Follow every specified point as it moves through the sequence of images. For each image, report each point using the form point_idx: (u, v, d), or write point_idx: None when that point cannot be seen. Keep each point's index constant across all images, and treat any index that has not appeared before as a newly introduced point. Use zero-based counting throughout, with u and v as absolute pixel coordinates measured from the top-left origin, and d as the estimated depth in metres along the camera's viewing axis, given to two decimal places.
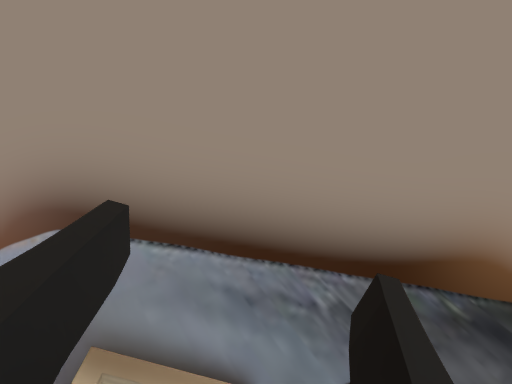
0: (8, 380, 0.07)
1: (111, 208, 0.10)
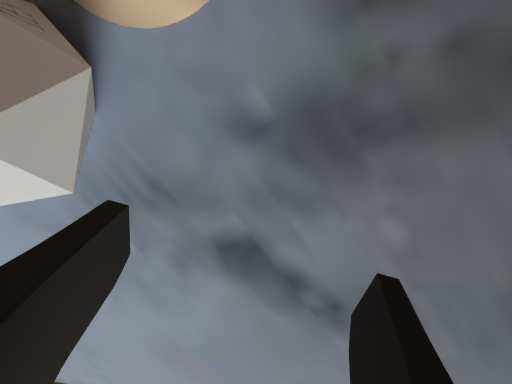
0: (8, 380, 0.07)
1: (111, 208, 0.10)
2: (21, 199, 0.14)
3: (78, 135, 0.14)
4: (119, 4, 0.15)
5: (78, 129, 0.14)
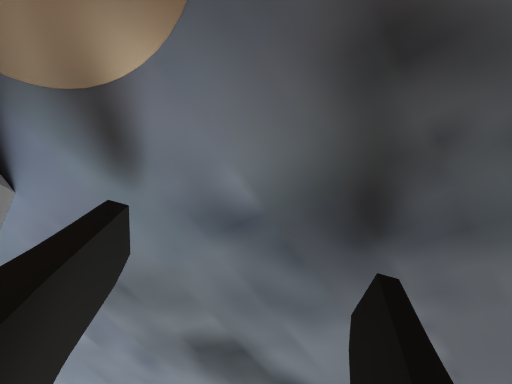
0: (8, 380, 0.07)
1: (111, 208, 0.10)
2: None
3: None
4: (22, 54, 0.10)
5: None
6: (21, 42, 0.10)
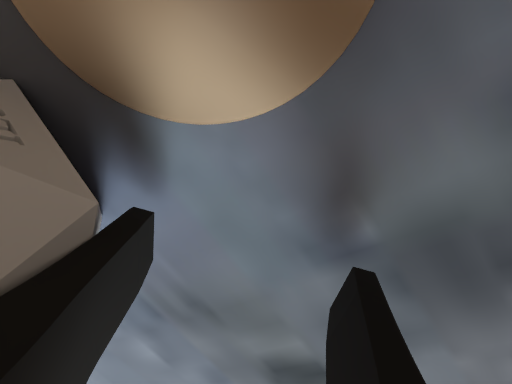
0: None
1: (138, 215, 0.10)
2: None
3: None
4: (160, 91, 0.10)
5: None
6: (162, 79, 0.10)
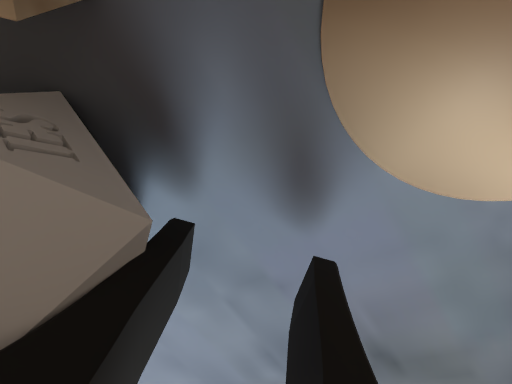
0: None
1: (180, 227, 0.10)
2: None
3: None
4: (451, 170, 0.10)
5: None
6: (460, 161, 0.10)
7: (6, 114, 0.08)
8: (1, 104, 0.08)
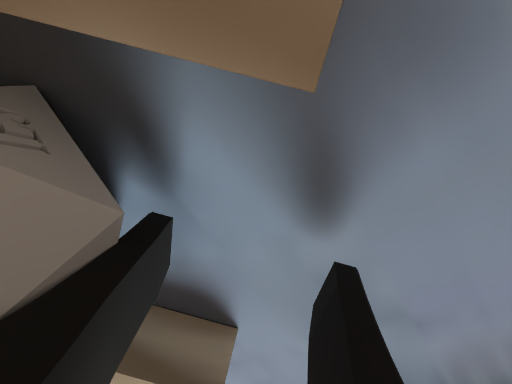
0: None
1: (158, 220, 0.10)
2: None
3: None
4: None
5: None
6: None
7: None
8: None
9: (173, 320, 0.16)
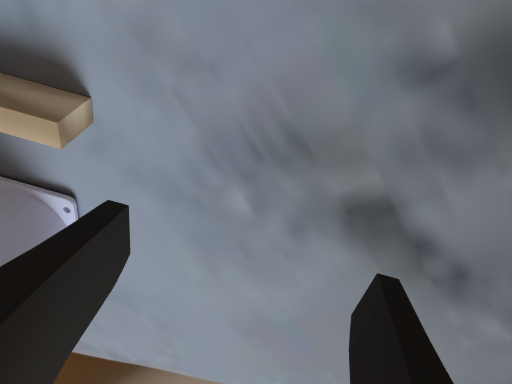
0: (8, 380, 0.07)
1: (111, 208, 0.10)
2: None
3: None
4: None
5: None
6: None
7: None
8: None
9: (38, 87, 0.20)
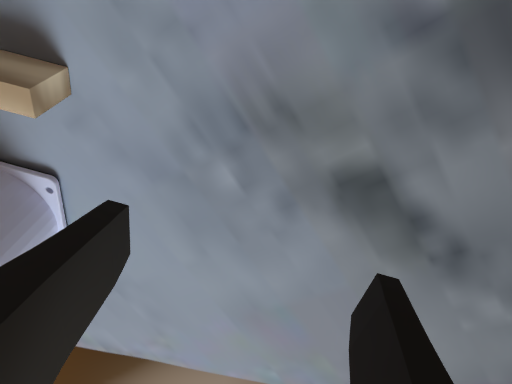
0: (8, 380, 0.07)
1: (111, 208, 0.10)
2: None
3: None
4: None
5: None
6: None
7: None
8: None
9: (12, 56, 0.19)
